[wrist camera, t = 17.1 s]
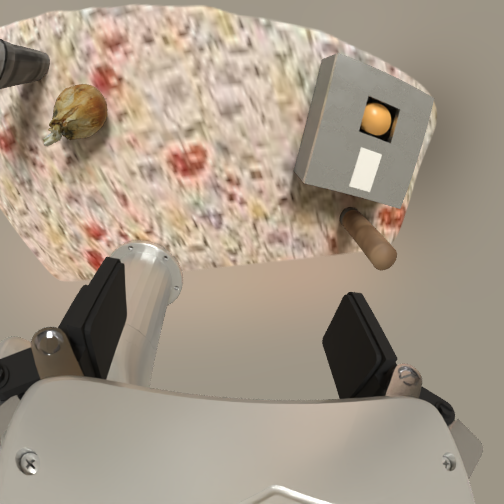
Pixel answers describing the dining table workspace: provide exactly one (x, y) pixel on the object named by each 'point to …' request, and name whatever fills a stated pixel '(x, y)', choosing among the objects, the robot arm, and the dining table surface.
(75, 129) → the onion
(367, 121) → the button
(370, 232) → the brown rounded rod
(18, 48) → the beverage cup
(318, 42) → the dining table surface
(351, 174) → the box
